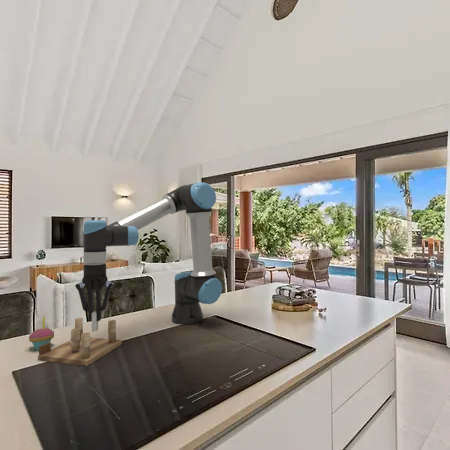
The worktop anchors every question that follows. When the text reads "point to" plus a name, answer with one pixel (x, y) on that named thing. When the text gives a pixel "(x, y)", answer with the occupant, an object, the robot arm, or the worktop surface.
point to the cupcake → (41, 336)
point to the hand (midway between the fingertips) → (95, 330)
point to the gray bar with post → (75, 339)
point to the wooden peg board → (81, 347)
